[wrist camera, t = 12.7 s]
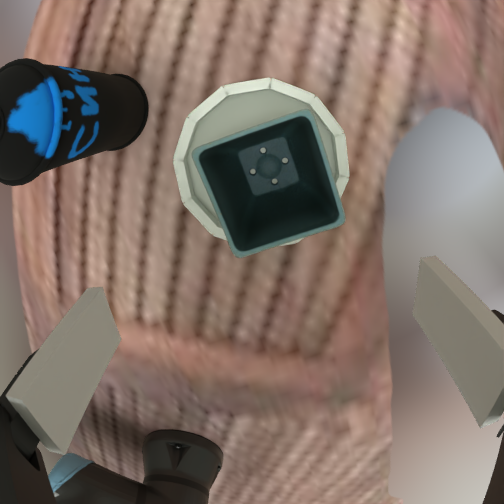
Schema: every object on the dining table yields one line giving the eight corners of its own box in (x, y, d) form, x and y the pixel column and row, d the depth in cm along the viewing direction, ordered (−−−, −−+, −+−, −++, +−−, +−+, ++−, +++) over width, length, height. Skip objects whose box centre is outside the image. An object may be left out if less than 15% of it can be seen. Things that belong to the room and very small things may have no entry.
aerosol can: (84, 156, 31) (-57, 215, 12) (76, 84, 27) (-72, 88, 9) (152, 144, 30) (25, 194, 12) (145, 66, 27) (11, 29, 9)
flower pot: (241, 222, 33) (235, 261, 24) (208, 140, 29) (188, 150, 21) (325, 194, 31) (348, 224, 23) (296, 108, 28) (311, 106, 20)
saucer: (251, 267, 36) (250, 276, 34) (149, 155, 31) (142, 158, 29) (371, 177, 31) (379, 182, 29) (273, 50, 26) (274, 46, 24)
